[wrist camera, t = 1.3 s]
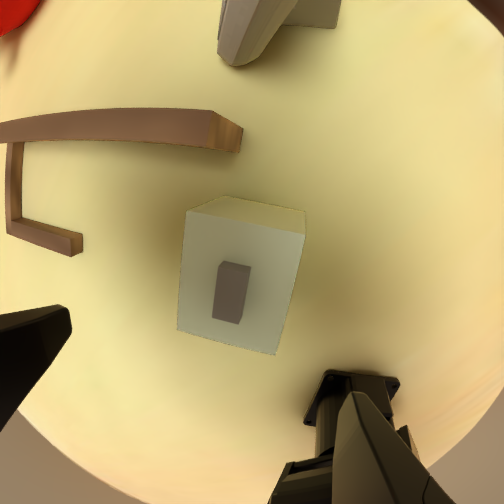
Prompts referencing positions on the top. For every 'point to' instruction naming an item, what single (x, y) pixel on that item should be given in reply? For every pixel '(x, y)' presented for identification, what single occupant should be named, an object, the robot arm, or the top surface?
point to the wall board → (106, 129)
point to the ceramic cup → (15, 13)
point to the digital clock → (266, 24)
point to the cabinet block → (239, 271)
